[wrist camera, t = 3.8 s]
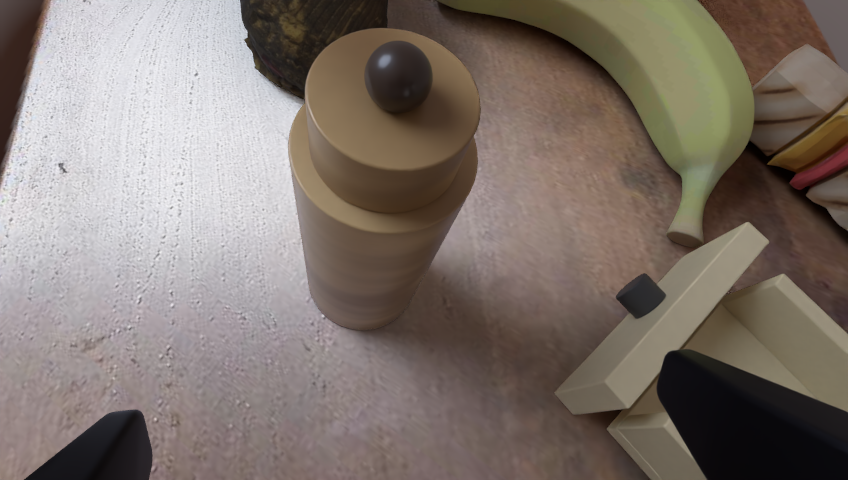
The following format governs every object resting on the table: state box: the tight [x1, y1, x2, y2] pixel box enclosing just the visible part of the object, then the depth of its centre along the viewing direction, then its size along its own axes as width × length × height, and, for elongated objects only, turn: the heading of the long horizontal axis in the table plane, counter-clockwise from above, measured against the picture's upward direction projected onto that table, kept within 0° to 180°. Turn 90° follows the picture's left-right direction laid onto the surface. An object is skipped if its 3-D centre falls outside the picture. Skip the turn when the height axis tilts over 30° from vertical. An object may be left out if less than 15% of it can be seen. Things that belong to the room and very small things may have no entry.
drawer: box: [555, 222, 848, 480], centre depth 19 cm, size 16×10×4 cm, turn 41°
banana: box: [436, 0, 754, 247], centre depth 26 cm, size 14×6×20 cm
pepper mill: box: [288, 28, 481, 330], centre depth 15 cm, size 5×5×14 cm
